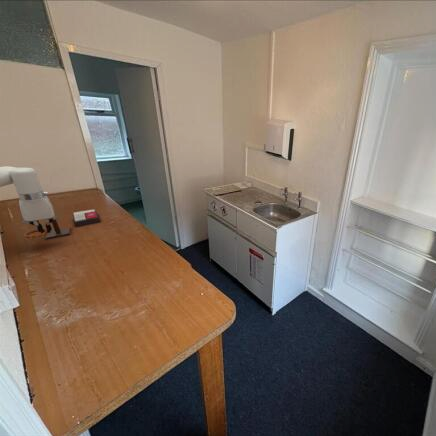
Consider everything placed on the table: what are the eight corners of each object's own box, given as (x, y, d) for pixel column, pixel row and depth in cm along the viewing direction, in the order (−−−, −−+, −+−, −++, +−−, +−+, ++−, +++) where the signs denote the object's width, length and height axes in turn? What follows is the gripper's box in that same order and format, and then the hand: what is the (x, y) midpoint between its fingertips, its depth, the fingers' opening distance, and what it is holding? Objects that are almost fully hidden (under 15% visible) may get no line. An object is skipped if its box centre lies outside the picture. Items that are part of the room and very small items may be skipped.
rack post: (46, 239, 119) (38, 221, 115) (48, 233, 125) (41, 216, 121) (69, 234, 124) (63, 217, 121) (70, 228, 131) (64, 212, 127)
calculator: (73, 221, 132) (72, 211, 141) (76, 227, 134) (74, 218, 143) (98, 216, 139) (94, 208, 148) (100, 222, 141) (96, 214, 150)
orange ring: (23, 240, 104) (22, 237, 104) (25, 233, 110) (24, 231, 109) (48, 235, 109) (47, 233, 109) (49, 229, 115) (48, 227, 114)
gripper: (56, 191, 111) (68, 226, 119) (7, 196, 102) (23, 233, 109) (55, 195, 106) (68, 231, 113) (3, 200, 97) (20, 239, 104)
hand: (46, 232), depth 111 cm, fingers closed on orange ring, 1 cm apart
